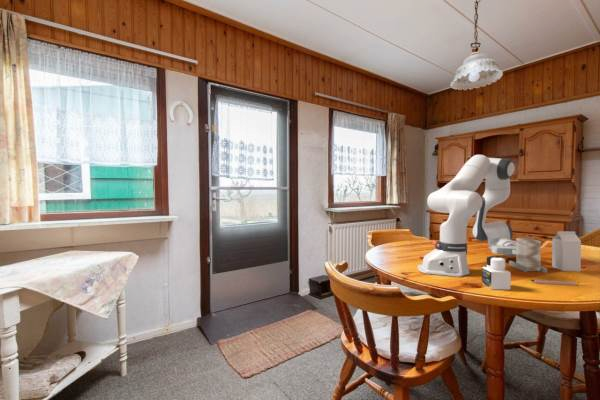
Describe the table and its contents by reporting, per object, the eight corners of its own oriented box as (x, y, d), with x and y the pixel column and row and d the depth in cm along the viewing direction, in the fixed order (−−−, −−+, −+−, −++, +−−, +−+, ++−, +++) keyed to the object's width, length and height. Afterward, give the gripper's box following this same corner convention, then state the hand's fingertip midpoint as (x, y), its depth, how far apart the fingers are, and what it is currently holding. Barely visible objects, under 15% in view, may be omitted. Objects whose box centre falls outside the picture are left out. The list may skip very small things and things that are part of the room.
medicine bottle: (481, 283, 114) (481, 254, 114) (500, 284, 113) (500, 255, 113) (490, 289, 107) (491, 259, 107) (510, 290, 106) (511, 259, 106)
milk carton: (580, 273, 126) (581, 232, 126) (562, 273, 128) (563, 232, 127) (568, 269, 133) (569, 230, 133) (551, 268, 134) (552, 230, 134)
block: (525, 270, 128) (525, 240, 128) (516, 266, 136) (516, 238, 135) (540, 271, 127) (540, 241, 126) (530, 266, 134) (530, 238, 134)
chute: (536, 283, 114) (536, 276, 114) (503, 266, 140) (503, 260, 140) (576, 285, 111) (576, 278, 111) (535, 267, 137) (535, 261, 137)
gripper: (486, 241, 151) (499, 246, 137) (529, 242, 146) (547, 248, 133) (486, 253, 151) (499, 259, 137) (529, 254, 146) (546, 260, 133)
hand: (523, 253), depth 135 cm, fingers closed, pressing on block
